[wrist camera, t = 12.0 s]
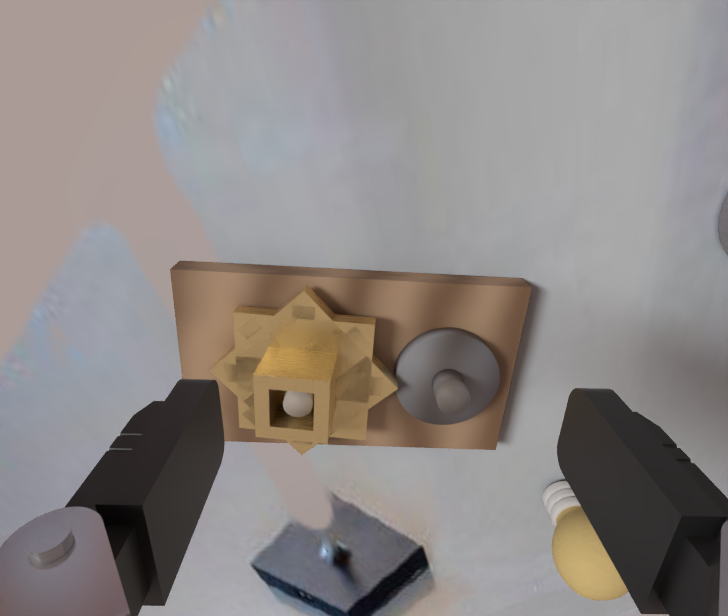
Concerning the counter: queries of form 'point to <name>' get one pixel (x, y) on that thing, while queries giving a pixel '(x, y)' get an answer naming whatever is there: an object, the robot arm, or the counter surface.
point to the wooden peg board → (375, 343)
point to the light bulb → (579, 547)
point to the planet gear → (304, 370)
